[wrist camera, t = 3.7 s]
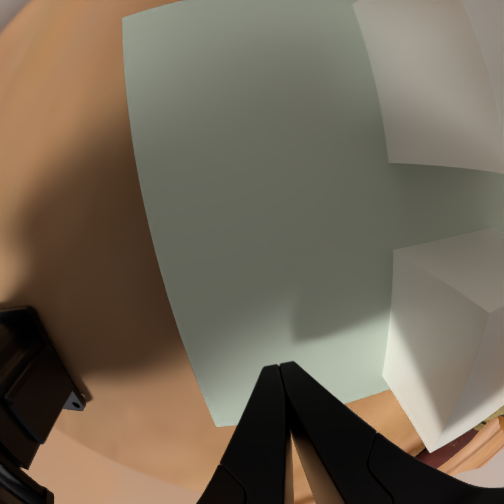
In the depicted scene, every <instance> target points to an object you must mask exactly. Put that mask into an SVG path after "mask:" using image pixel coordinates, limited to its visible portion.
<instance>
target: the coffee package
mask: <svg viewBox="0 0 504 504" xmlns="http://www.w3.org/2000/svg"><path fill="white" fill-rule="evenodd" d="M498 419H499V424H500V427H501V429H502V430H503V431H504V417H501V416H498Z"/></svg>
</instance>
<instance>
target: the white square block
mask: <svg viewBox="0 0 504 504" xmlns="http://www.w3.org/2000/svg"><path fill="white" fill-rule="evenodd" d="M382 376H383V378H384V379H385V381H386V382H387V384H388V386H389V387H390V389H391V390H392V392H393V393H394V395H395V397H396V398H397V400H398V401H399V403H400V405H401V406H402V408H403V409H404V411H405V413H406V414H407V416H408V418H409V419H410V421H411V422H412V424H413V426H414V427H415V429H416V431H417V432H418V434H419V436H420V437H421V439H422V441H423V442H424V444H425V446H426V448H427V449H428V451H429V453H431V452H433V451H435V450H437V449H438V448H440V447H442V446H444V445H446V444H447V443H449V442H451V441H453V440H454V439H456V438H457V437H459V436H461V435H462V434H464V433H465V432H467V431H469V430H470V429H472V428H473V427H475V426H476V425H478V424H479V423H480V422H482V421H483V420H485V419H486V418H487V417H489V416H490V415H492V414H493V413H494V412H495V411H497V410H498V409H499V408H501V407H502V406H503V405H504V232H502V231H499V230H497V229H494V228H488V229H484V230H480V231H476V232H472V233H467V234H463V235H459V236H454V237H450V238H446V239H441V240H437V241H432V242H428V243H423V244H419V245H414V246H409V247H405V248H400V249H395V250H393V277H392V297H391V310H390V321H389V331H388V340H387V348H386V355H385V362H384V368H383V374H382Z"/></svg>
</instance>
